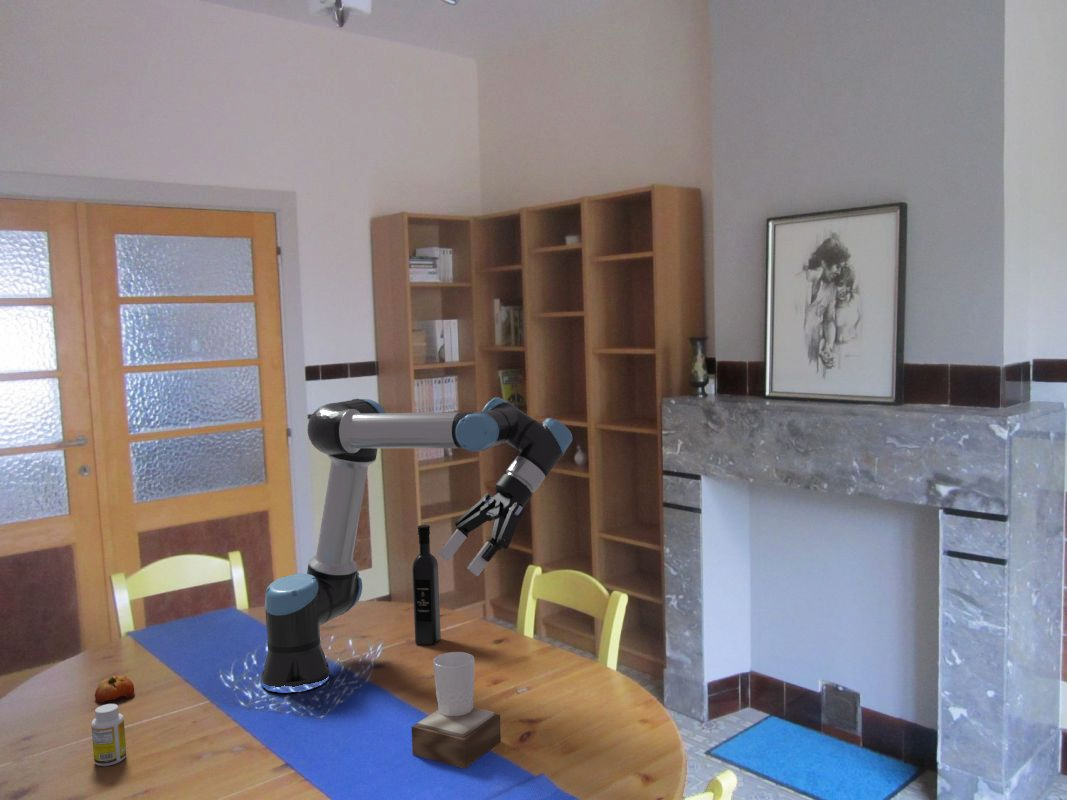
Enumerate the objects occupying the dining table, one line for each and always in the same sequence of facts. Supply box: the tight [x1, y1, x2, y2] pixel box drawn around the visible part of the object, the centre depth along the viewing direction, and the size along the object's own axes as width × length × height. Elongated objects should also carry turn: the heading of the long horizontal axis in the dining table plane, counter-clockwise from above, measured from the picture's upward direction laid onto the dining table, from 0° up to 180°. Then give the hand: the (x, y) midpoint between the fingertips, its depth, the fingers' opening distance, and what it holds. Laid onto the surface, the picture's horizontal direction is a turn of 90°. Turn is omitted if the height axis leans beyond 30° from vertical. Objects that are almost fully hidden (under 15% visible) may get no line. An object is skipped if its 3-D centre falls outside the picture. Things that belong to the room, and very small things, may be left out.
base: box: [411, 706, 502, 770], centre depth 170 cm, size 12×12×6 cm
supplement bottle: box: [90, 703, 127, 767], centre depth 168 cm, size 6×6×10 cm
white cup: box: [432, 651, 475, 717], centre depth 172 cm, size 8×8×10 cm
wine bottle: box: [411, 524, 442, 646], centre depth 226 cm, size 6×6×30 cm
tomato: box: [94, 675, 135, 704], centre depth 199 cm, size 8×7×7 cm
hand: (456, 565), depth 181 cm, fingers open, 13 cm apart
